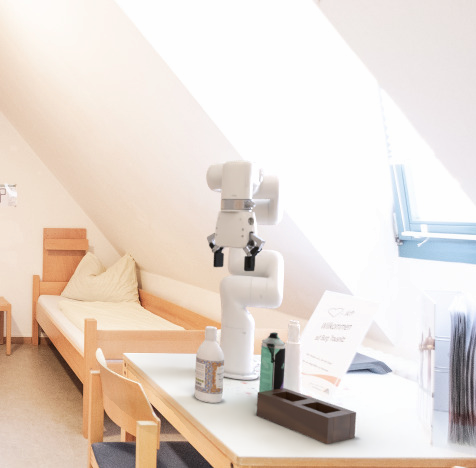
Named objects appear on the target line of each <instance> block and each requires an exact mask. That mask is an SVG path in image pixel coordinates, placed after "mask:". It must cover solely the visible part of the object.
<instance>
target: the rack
mask: <svg viewBox="0 0 476 468" xmlns="http://www.w3.org/2000/svg"><path fill="white" fill-rule="evenodd" d="M256 416H257V417H259V418H261V419H264V420H267V421H269V422H272V423H274V424H277V425H280V426H282V427H284V428H287V429H289V430H291V431H293V432H296V433H299V434H301V435H303V436H306V437H308V438H311V439H314V440H315V441H318V442H321V443H323V444H325V445H328V444H329V445H330V444H333V443H337V442H342V441H346V440H350V439H354V438H355V437H356V422H357V421H356V420H357V412H356V411H354V410H351V409H347V408H345V407H342V406H338V405H337V404H333V403H330V402H326V401H324V400H321V399H318V398H315V397H312V396H309V395H305V394H303V393H302V394H300V393H297V392H294V391H291V390H288V389H285V388H282V389H275V390H269V391H263V392H259V391H258V392H257V401H256Z"/></svg>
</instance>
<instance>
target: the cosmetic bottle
mask: <svg viewBox="0 0 476 468" xmlns="http://www.w3.org/2000/svg"><path fill="white" fill-rule="evenodd" d="M300 336H301V325H300V321H299V320H295V319H289V323H288V327H287V340H285V346H286V348H285V368H284V387H283V388H285V389H288V390H291V391H294V392H297V393H300V394H303V387H302V386H303V383H302V381H303V380H302V343H301V340H300V338H301V337H300Z"/></svg>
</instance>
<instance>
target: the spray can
mask: <svg viewBox="0 0 476 468" xmlns="http://www.w3.org/2000/svg"><path fill="white" fill-rule="evenodd" d="M285 344H286V342H284V341H283V340H282V339H281V338H280V337H279V333H278V332H269V335H268V336H267V338H265V339H262V340H261V344H260V345H261V346H260V361H261V365H260V367H259V368H260V369H259V387H258V389H259V390H258V392H263V391H269V390H275V389H282V388H283V387H284V368H285V348H286V346H285Z"/></svg>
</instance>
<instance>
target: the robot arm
mask: <svg viewBox="0 0 476 468" xmlns="http://www.w3.org/2000/svg"><path fill="white" fill-rule="evenodd" d="M205 174H206V175H205V179H206V183H207V186H208V188H209V189H210V190H211V191H212V192H214V193H219V194H220V210H219V211H218V214H217V216H216V217H217V218H216V222H215V230H214V231H215V232H214V233H212V234H209V235H208V236H207V237H206V239H207V240H206V241H207V244H208V246H209V248H210V250H211V252H212V253H213V264H212V265H213V268H223V267H224V260H225V254H224V253H225V252H224V250H225V249H226V248H228V257H227V270H228V273H229V275H227V276H225V277H223V278H222V279H221V280H220V282H219V297H220V307H221V310H220V313H221V316H220V318H221V319H220V339H219V340H220V341H219V345H220V347H221V349H222V351H223V354H224V373H223V378H224V377H225V378H228V379H233V380H242V381H243V380H244V381H252V380H256V379H258V378H259V373H258V371H256V370H255V369H256V368H260V365H261V360H254V354H255V353H254V350H255V333H256V332H255V330H256V329H255V328H256V322H255V319H254V316H253V314H251V312H250V311H249V310H248V309H247V308H259V309H269V310H274V309H277V308H280V306H281V305H282V303H283V299H284V279H285V261H284V257H283V255H282V254H281V252H279V251H277V250H272V249H263V247H264V246H265V244H266V240H265V239H264V238H262V237H260V236H259V235H258V227H257V226H276V225H278V224H280V223H281V221H282V220H283V214H284V185H283V184H284V183H283V180H282V177H281V176H280V175H279V174H278V173H276V172H264V169H263V168H262V167H261V166H260V164H259V163H256V162H252V161H249V160H242V159H241V160H240V159H239V160H229V161H225V162H216V163H215V162H214V163H212V164H210V165H209V167H208V168H207V170H206V173H205Z"/></svg>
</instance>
